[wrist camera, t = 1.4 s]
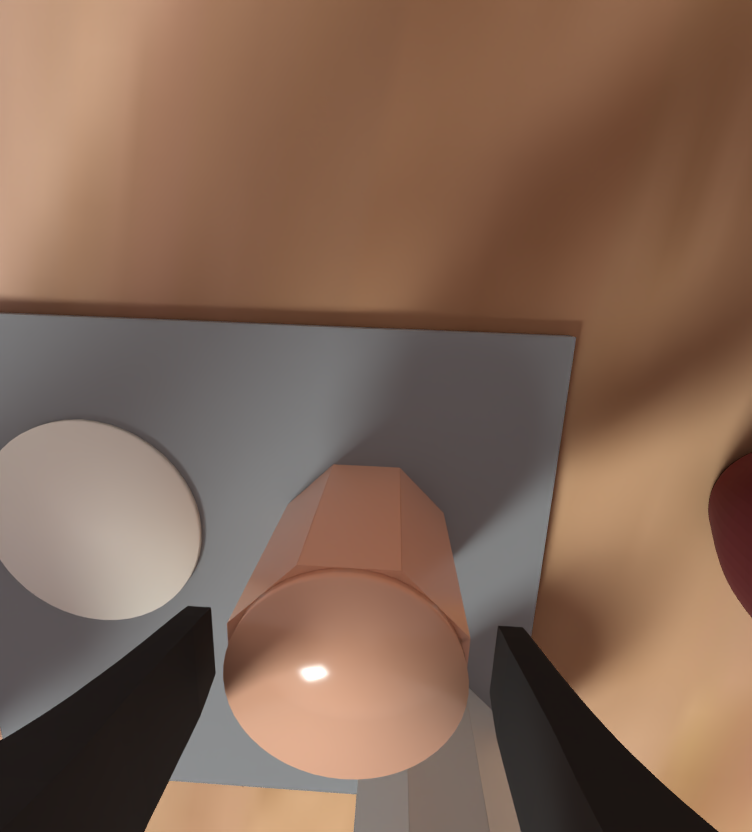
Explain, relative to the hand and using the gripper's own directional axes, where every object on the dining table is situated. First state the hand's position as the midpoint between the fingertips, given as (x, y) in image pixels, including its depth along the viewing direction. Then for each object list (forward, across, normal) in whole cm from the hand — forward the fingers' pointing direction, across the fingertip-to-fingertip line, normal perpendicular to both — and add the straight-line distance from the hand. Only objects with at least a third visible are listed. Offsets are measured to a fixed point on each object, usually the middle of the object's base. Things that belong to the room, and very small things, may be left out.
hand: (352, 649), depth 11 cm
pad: (+5, +10, 0) cm, 11 cm away
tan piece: (+5, 0, 0) cm, 5 cm away
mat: (+6, +5, +2) cm, 8 cm away
